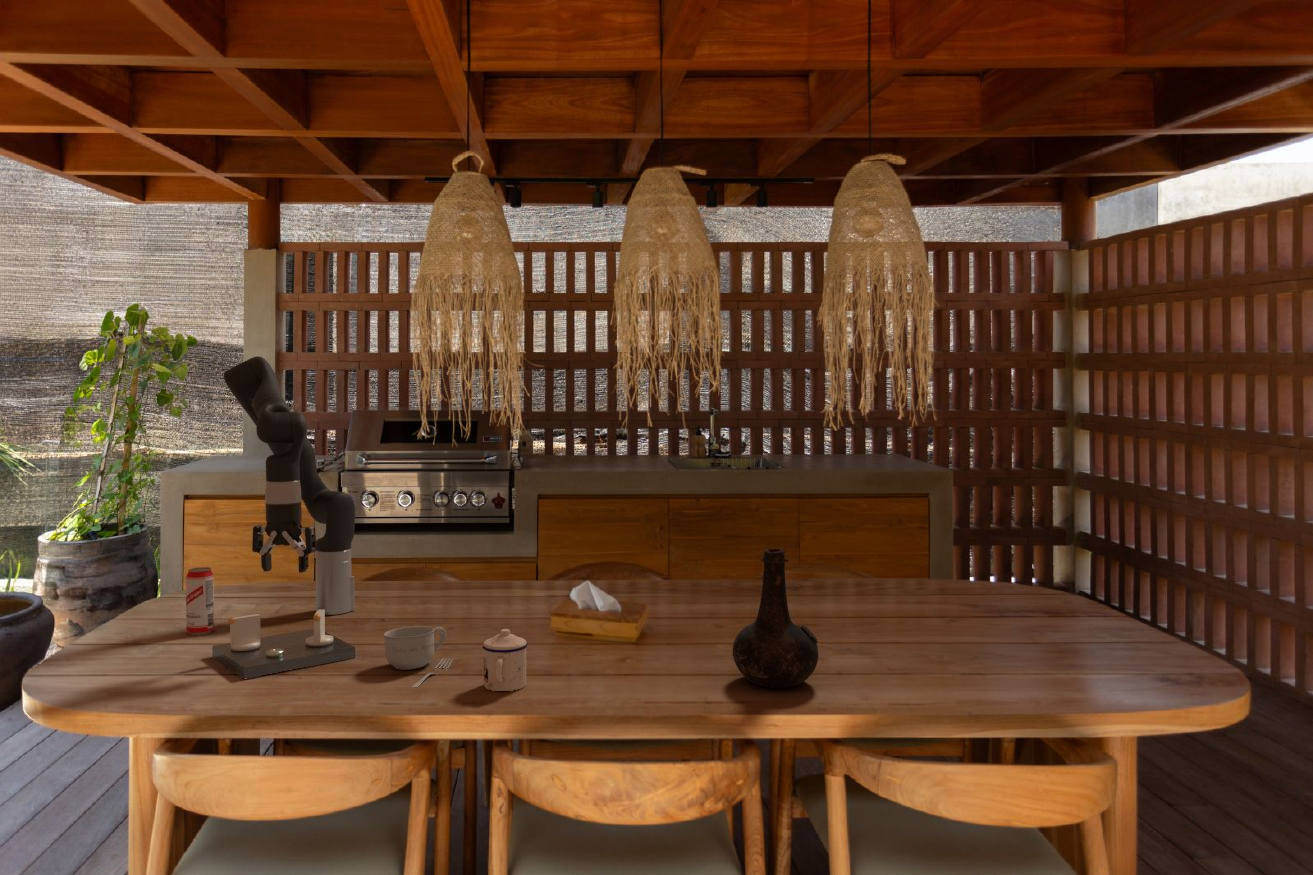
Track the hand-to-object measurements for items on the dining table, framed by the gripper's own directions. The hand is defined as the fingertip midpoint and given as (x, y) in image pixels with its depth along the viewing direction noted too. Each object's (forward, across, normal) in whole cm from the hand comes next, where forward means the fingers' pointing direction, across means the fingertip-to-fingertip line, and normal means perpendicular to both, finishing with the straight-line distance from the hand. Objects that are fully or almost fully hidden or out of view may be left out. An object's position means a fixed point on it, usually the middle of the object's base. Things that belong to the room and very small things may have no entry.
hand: (284, 571), depth 203 cm
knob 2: (+17, -7, -3) cm, 18 cm away
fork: (+20, -38, +12) cm, 44 cm away
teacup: (+20, -32, +2) cm, 37 cm away
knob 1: (+17, +8, +4) cm, 19 cm away
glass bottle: (+20, -110, +2) cm, 112 cm away
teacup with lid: (+20, -56, +14) cm, 61 cm away
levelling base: (+20, 0, +1) cm, 20 cm away
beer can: (+20, +32, -16) cm, 41 cm away
